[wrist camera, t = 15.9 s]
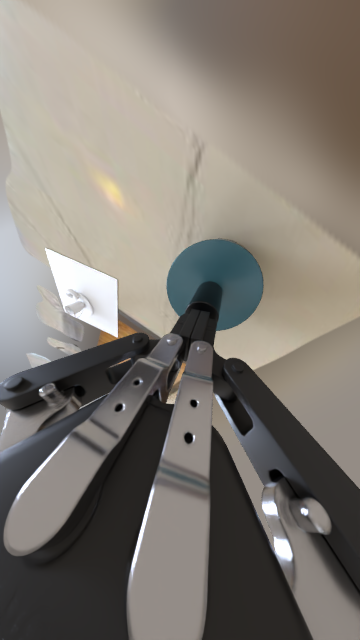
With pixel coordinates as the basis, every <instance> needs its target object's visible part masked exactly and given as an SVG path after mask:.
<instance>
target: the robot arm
mask: <svg viewBox="0 0 360 640" xmlns="http://www.w3.org/2000/svg"><path fill="white" fill-rule="evenodd" d="M209 315H210V312H206V311H200V310H195V309H192V310H191V312H190V314H186V313H184V314H183V315H181V316H180V318H179V319H178V321H177V323H176V324H175V326H174V328H173V329H172V331H171V332H170V334H166V335H164V336H163V337H162V338H161V339H160V340H149V337H148V335H146V334H144V333H135V334H132V335H129V336H126V337H123V338H120V339H117V340H114V341H111V342H108V343H105V344H102V345H100V346H97V347H94V348H91V349H88V350H85V351H82V352H79V353H76V354H73V355H70V356H67V357H64V358H61V359H58V360H55V361H52V362H49V363H46V364H43V365H41V366H38V367H35V368H32V369H29V370H26V371H23V372H20V373H17V374H15V375H13V376H11V377H9V378H7V379H6V380H5V381H3V382H2V383H1V384H0V404H1V405H3V406H4V407H5V408H6V409H7V411H8V412H7V416H6V419H5V422H4V425H3V428H2V431H1V434H0V640H360V489H359V488H358V487H357V486H356V485H355V484H354V482H353V481H352V480H351V479H350V478H349V477H348V476H347V475H346V474H345V473H344V471H343V470H342V469H341V468H340V467H339V466H338V465H337V464H336V462H335V461H334V460H333V459H332V458H331V457H330V456H329V455H328V454H327V452H326V451H325V450H324V449H323V448H322V447H321V446H320V445H319V444H318V443H317V441H316V440H315V439H314V438H313V437H312V436H311V435H310V434H309V432H307V430H306V429H305V428H304V427H303V426H302V425H301V424H300V422H299V421H298V420H297V419H296V418H295V417H294V416H293V415H292V414H291V412H290V411H289V410H288V409H287V408H286V407H285V406H284V405H283V404H282V402H281V401H280V400H279V399H278V398H277V397H276V396H275V395H274V394H273V392H272V391H271V390H270V389H269V388H268V387H267V386H266V385H265V384H264V383H263V381H262V380H261V379H260V378H259V377H258V376H257V375H256V374H255V372H254V371H253V370H252V369H251V368H250V367H249V366H248V365H247V364H246V363H245V362H244V361H242V360H240V359H237V358H229V359H227V360H226V359H224V358H222V357H220V356H219V355H218V354H217V353H216V352H215V350H214V347H213V345H214V339H215V333H216V328H217V323H216V320H215V319H210V318H209ZM129 358H131V360H128V361H126V362H124V363H121V364H119V365H116V366H114V367H111V368H108V367H110V366H112V365H114V364H117V363H119V362H122V361H124V360H126V359H129ZM183 361H187V362H186V366H185V370H184V372H183V374H182V378H181V381H180V385H179V389H178V393H177V397H176V401H175V404H166V402H167V399H168V395H169V392H170V390H171V388H172V386H173V384H174V382H175V380H176V378H177V376H178V373H179V371H180V369H181V365H182V362H183ZM109 392H110V393H109ZM213 392H214V394H215V397H216V399H217V401H218V403H219V405H220V406H221V408H222V410H223V412H224V414H225V416H226V417H227V419H228V421H229V423H230V425H231V426H232V428H233V430H234V432H235V434H236V436H237V437H238V439H239V441H240V443H241V445H242V447H243V448H244V450H245V452H246V454H247V456H248V457H249V459H250V461H251V463H252V465H253V466H254V469H255V470H256V472H257V474H258V476H259V478H260V480H261V481H262V483H263V485H264V489H263V492H262V507H263V511H264V515H265V518H266V521H267V523H268V526H269V528H270V530H271V534H272V537H273V541H274V546H275V552H276V555H275V552H274V550H273V548H272V546H271V544H270V542H269V539H268V537H267V535H266V532H265V530H264V528H263V526H262V523H261V521H260V519H259V517H258V515H257V512H256V510H255V508H254V506H253V503H252V501H251V499H250V497H249V495H248V492H247V490H246V488H245V485H244V483H243V481H242V479H241V477H240V474H239V472H238V470H237V468H236V466H235V463H234V461H233V459H232V456H231V454H230V452H229V450H228V448H227V446H226V444H225V442H224V440H223V438H222V437H221V435H220V434H219V433H218V431H217V430H216V429H215V428H214V427H213V426H212V405H213ZM107 393H109V394H107ZM105 394H107V395H105ZM103 395H105V396H103ZM101 396H103V397H101ZM99 397H101V398H100V399H98V400H96V399H97V398H99ZM94 400H96V401H94ZM92 401H94V402H92ZM90 402H92V403H90ZM88 403H90V404H89V405H87V406H85V407H83V408H81V409H80V407H82V406H84V405H86V404H88Z"/></svg>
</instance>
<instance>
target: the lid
mask: <svg viewBox="0 0 360 640" xmlns="http://www.w3.org/2000/svg"><path fill="white" fill-rule="evenodd" d="M167 294H168V298H169V301H170V304H171V306H172V308H173V309H174V311H175V312H176V313H177V314H178V316H179V317H180V316H181V315H183V314H184V313H186V314H190V312H191V310H192V309H195V310H200V311H206V312H210V315H209V318H210V319H215V320H216V323H217V328H216V331H220V330H226V329H229V328H232V327H235V326H237V325H239V324H241V323H242V322H244V321H245V320H246V319H247V318H249V317H250V316H251V315H252V313H253V312H254V311H255V310H256V308H257V306H258V305H259V302H260V300H261V297H262V294H263V276H262V272H261V269H260V266H259V265H258V263H257V261H256V259H255V258H254V257H253V256H252V255H251V253H250V252H248V251H247V250H246V249H245V248H243V247H242V246H240V245H238V244H236V243H234V242H231V241H227V240H221V239H210V240H205V241H201V242H198V243H196V244H193V245H192V246H190V247H188V248H187V249H185V250H184V251H183V252H182V253H181V254H180V255H179V256H178V257H177V258H176V259H175V261H174V262H173V264H172V266H171V268H170V270H169V273H168V277H167Z"/></svg>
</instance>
